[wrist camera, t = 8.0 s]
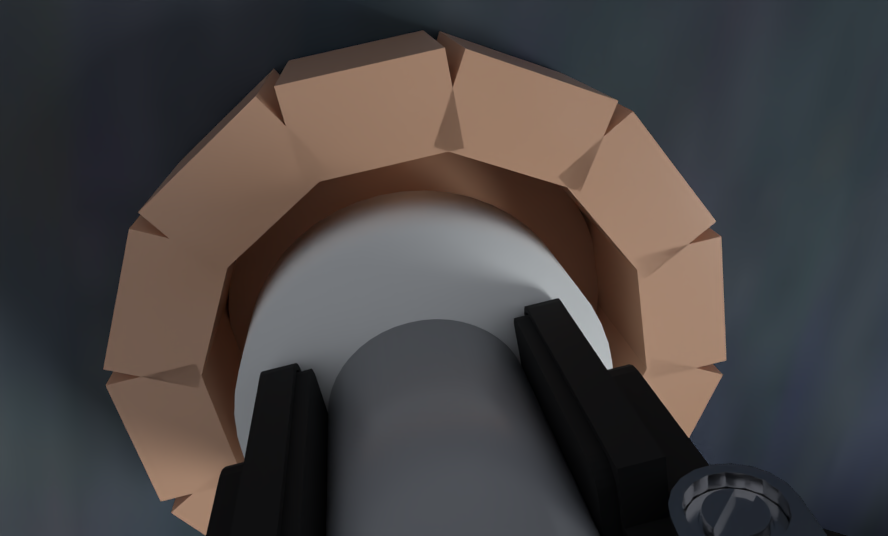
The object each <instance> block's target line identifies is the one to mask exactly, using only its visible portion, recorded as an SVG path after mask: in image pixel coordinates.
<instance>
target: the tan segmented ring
mask: <svg viewBox="0 0 888 536" xmlns="http://www.w3.org/2000/svg"><path fill="white" fill-rule="evenodd" d="M617 103H618V100H616V99H614V98H612V97H610V96H608V95H606V94H604V93H602V92H600V91H598V90H595V89H593V88H591V87H589V86H587V85H585V84H583V83H581V82H579V81H577V80H575V79H573V78H571V77H569V76H567V75H565V74H563V73H560V72H557V71H554V70H551V69H548V68H545V67H542V66H540V65H537V64H534V63H531V62H528V61H525V60H522V59H519V58H516V57H513V56H510V55H508V54H505V53H502V52H499V51H496V50H493V49H490V48H487V47H484V46H481V45H478V44H476V43H473V42H470V41H467V40H464V39H461V38H458V37H455V36H452V35H449V34H447V33H444V32H441V31H439V34H438V37H437V41H436V40H435V39H434V38H432V37H431V36H430V35H428V34H427V33H426V32H425V31H423V30H422V31H417V32H413V33H408V34H404V35H400V36H395V37H391V38H386V39H382V40H377V41H373V42H368V43H364V44H360V45H355V46H351V47H346V48H342V49H337V50H333V51H329V52H324V53H320V54H315V55H311V56H306V57H302V58H298V59H293V60H289V61H288V62H287V64H286V66H285V68H284V69H283V71H282V73H281V75H280V74H279V73H278V72H277V71H276V70H275V69H273V70H272V71H271V72H270V73H269V74H268V75H267V76H266V77H265V78H264V79H263V80H262V81H261V82H260V83H259V84H258V85H257V86H256V87H255V88H254V89H253V90H252V91H251V92H250V93H249V94H248V95H247V96H246V97H245V98H244V99H243V100H242V101H241V102H240V103H239V104H238V105H237V106H236V107H235V108H234V109H232V110H231V111H230V112H229V113H228V114H227V115H226V116H225V117H224V118H223V119H222V120H221V121H220V122H219V123H218V124H217V125H216V126H215V127H214V128H213V129H212V130H211V131H210V132H209V133H208V134H207V135H206V136H205V137H204V138H203V139H202V140H201V141H200V142H199V143H198V144H197V145H196V146H195V147H194V148H193V149H192V150H191V151H190V152H189V153H188V154H187V155H186V156H185V157H184V158H183V159H182V160H181V161H180V162H179V163H178V164H177V166H176V167H175V168H174V169H173V171H172V172H171V173H170V174H169V175H168V177H167V178H166V179H165V180H164V181H163V183H162V184H161V185H160V186H159V187H158V189H157V190H156V191H155V192H154V193H153V195H152V196H151V197H150V198H149V200H148V201H147V202H146V203H145V204H144V206H143V207H142V208H141V209H140V210H139V212H138V213H139V214H140V216H139V217H138V218H137V220H136V221H135V222H134V223H133V225H132V226H131V227H130V228H129V232H128V237H127V243H126V248H125V254H124V259H123V265H122V270H121V275H120V281H119V286H118V292H117V297H116V303H115V308H114V313H113V319H112V324H111V330H110V335H109V341H108V346H107V352H106V357H105V362H104V368H103V369H104V370H109V371H113V373H112V375H111V377H110V378H109V380H108V382H107V384H106V388H107V390H108V392H109V394H110V396H111V398H112V400H113V402H114V404H115V406H116V409H117V411H118V413H119V415H120V417H121V419H122V421H123V423H124V425H125V427H126V430H127V432H128V434H129V436H130V438H131V440H132V442H133V444H134V446H135V448H136V451H137V453H138V455H139V457H140V459H141V461H142V463H143V465H144V467H145V469H146V472H147V474H148V476H149V478H150V480H151V482H152V484H153V486H154V488H155V490H156V492H157V495H158V497H159V499H160V501H165V500H169V499H173V498H175V502H174V505H173V508H172V511H171V513H172V514H174V515H175V516H177V517H178V518H180V519H181V520H183V521H184V522H186V523H187V524H189V525H190V526H192V527H193V528H195V529H196V530H198V531H200V532H201V533H203V534H204V535H206V533H207V529H208V524H209V520H210V515H211V511H212V507H213V502H214V498H215V493H216V489H217V485H218V480H219V476H220V474H221V471H222V469H223V468H224V467H226V466H229V465H233V464H237V463H241V462H244V456H243V453H242V450H241V446H240V443H239V440H238V437H237V430H236V423H235V416H234V409H235V389H236V384H237V378H238V372H239V368H240V364H241V359H242V355H243V351H244V347H245V343H246V339H247V334H248V330H249V326H250V322H251V318H252V313H253V310H254V307H255V304H256V301H257V298H258V295H259V292H260V290H261V288H262V286H263V284H264V282H265V280H266V278H267V276H268V274H269V272H270V271H271V270H272V268H273V267H274V265H275V264H276V263H277V261H278V260H279V258H280V257H281V255H282V254H283V253H284V252H285V251H286V250H287V249H288V248H289V247H290V246H291V245H292V244H293V243H294V241H295V240H296V239H297V238H299V237H300V236H301V235H302V234H303V233H305V232H306V231H307V230H308V229H310V228H311V227H312V226H313V225H315V224H316V223H318V222H319V221H321V220H323V219H324V218H326V217H327V216H329V215H331V214H332V213H334V212H336V211H338V210H340V209H342V208H345V207H347V206H349V205H351V204H354V203H356V202H359V201H362V200H365V199H369V198H372V197H375V196H378V195H384V194H390V193H396V192H401V191H422V190H428V191H440V192H450V193H454V194H459V195H464V196H468V197H472V198H475V199H478V200H480V201H483V202H486V203H489V204H491V205H493V206H495V207H497V208H499V209H501V210H503V211H505V212H507V213H509V214H511V215H512V216H513V217H515V218H516V219H518V220H519V221H520V222H522V223H523V224H525V225H526V226H527V227H528V228H529V229H531V230H532V231H533V232H534V233H535V234H536V235H537V236H538V237H539V238H540V239H541V240H542V241H543V242H544V244H545V245H546V246H547V248H548V249H549V250H550V251H551V253H552V254H553V255H554V257H555V258H556V259H557V261H558V262H559V263H560V265H561V266H562V267H563V268H564V270H565V271H566V272H567V274H568V275H569V276H570V278H571V279H572V280H573V282H574V283H575V284H576V286H577V287H578V288H579V290H580V291H581V292H582V294H583V295H584V296H585V298H586V299H587V300H588V302H589V303H590V304H591V306H592V308H593V310H594V311H595V313H596V315H597V317H598V319H599V320H600V322H601V324H602V327H603V330H604V332H605V335H606V338H607V341H608V343H609V349H610V354H611V359H612V364H613V368H616V367H620V366H624V365H628V364H630V365H633V366H634V367H635V368H636V369H637V370H638V371H639V372H640V373H641V375H642V376H643V377H644V379H645V380H646V381H647V383H648V384H649V385H650V387H651V388H652V390H653V391H654V392H655V394H656V395H657V396H658V398H659V399H660V400H661V402H662V403H663V404H664V406H665V407H666V408H667V410H668V411H669V412H670V414H671V415H672V416H673V418H674V419H675V420H676V422H677V423H678V424H679V426H680V427H681V428H682V430H683V431H684V432H685V434H686V435H687V436H688V438H689V437H690V435H691V433H692V431H693V430H694V428H695V426H696V424H697V422H698V420H699V418H700V416H701V415H702V413H703V411H704V409H705V407H706V405H707V403H708V401H709V400H710V398H711V396H712V394H713V392H714V390H715V388H716V386H717V385H718V383H719V381H720V379H721V377H722V375H723V374H722V373H721V372H720V371H719V370H718V369H717V368H716V367H715V366H714V365H713V364H714V363H718V362H722V361H726V340H725V315H724V291H723V266H722V241H721V236H720V235H719V234H717V233H716V232H714V231H713V230H712V229H710V228H709V227H710V226H711V225H713V224H714V223H715V222H716V221H715V219H714V218H713V217H712V215H711V214H710V213H709V211H708V210H707V209H706V207H705V206H704V205H703V203H702V202H701V201H700V199H699V198H698V197H697V195H696V194H695V193H694V191H693V190H692V189H691V188H690V186H689V185H688V184H687V182H686V181H685V180H684V178H683V177H682V176H681V174H680V173H679V172H678V170H677V169H676V168H675V166H674V165H673V164H672V162H671V161H670V160H669V158H668V157H667V156H666V154H665V153H664V152H663V150H662V149H661V148H660V146H659V145H658V144H657V142H656V141H655V140H654V138H653V137H652V136H651V134H650V133H649V132H648V130H647V129H646V128H645V126H644V125H643V124H642V122H641V121H640V120H639V119H638V117H637V116H636V115H635V113H634V112H633V111H631V110H629V109H627V108H625V107H623V106H621V105H619V104H617ZM580 211H581V212H582V214H583V216H582V214H581V212H580ZM228 296H229V300H228Z"/></svg>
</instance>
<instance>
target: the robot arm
mask: <svg viewBox="0 0 888 536" xmlns="http://www.w3.org/2000/svg"><path fill="white" fill-rule="evenodd" d="M524 315H525V316H521V317H517V318H514V327H515V333H516V338H517V344H518V349H519V355H520V360H521V366H522V368H523V370H524V372H525V374H526V377H527V379H528V381H529V383H530V385H531V387H532V390H533V392H534V394H535V396H536V398H537V400H538V402H539V405H540V407H541V409H542V411H543V413H544V415H545V417H546V420H547V422H548V424H549V426H550V428H551V430H552V433H553V435H554V437H555V439H556V441H557V443H558V445H559V448H560V450H561V452H562V454H563V456H564V458H565V460H566V463H567V465H568V467H569V469H570V471H571V473H572V476H573V478H574V480H575V482H576V484H577V486H578V488H579V491H580V493H581V495H582V497H583V499H584V501H585V503H586V506H587V508H588V510H589V512H590V514H591V516H592V518H593V521H594V523H595V525H596V527H597V529H598V531H599V534H600V536H846V535H843V534H839V533H836V532H833V531H829V530H826V529H822V527H821V526H820V525H819V523H818V522H817V520H816V519H815V517H814V516H813V514H812V513H811V511H810V510H809V509H808V507H807V506H806V504H805V503H804V501H803V500H802V498H801V497H800V496H799V495H798V494H797V493H796V492H795V490H794V489H793V488H792V487H791V486H790V485H789V484H788V483H786V482H785V481H783V480H782V479H780V478H778V477H777V476H775V475H773V474H772V473H770V472H767V471H764V470H761V469H758V468H755V467H752V466H747V465H739V464H732V463H729V464H714V465H709V464H708V463H707V462H706V460H705V459H704V458H703V456H702V455H701V454H700V452H699V451H698V450H697V448H696V447H695V446H694V444H693V443H692V442H691V440H690V439H689V438H688V436H687V435H686V434H685V432H684V431H683V430H682V428H681V427H680V426H679V424H678V423H677V422H676V420H675V419H674V418H673V416H672V415H671V414H670V412H669V411H668V410H667V408H666V407H665V406H664V404H663V403H662V402H661V400H660V399H659V398H658V396H657V395H656V394H655V392H654V391H653V390H652V388H651V387H650V385H649V384H648V383H647V381H646V380H645V379H644V377H643V376H642V375H641V373H640V372H639V371H638V370H637V369H636V368H635V367H634V366H633V365H630V364H628V365H624V366H620V367H616V368H612V369H608V370H607V369H606V367H605V366H604V364H603V363H602V361H601V360H600V358H599V357H598V355H597V354H596V352H595V351H594V349H593V348H592V346H591V345H590V343H589V342H588V340H587V339H586V337H585V336H584V334H583V333H582V331H581V330H580V328H579V327H578V325H577V324H576V322H575V321H574V319H573V318H572V316H571V315H570V314H569V312H568V311H567V309H566V308H565V306H564V305H563V303H562V302H561V300H560V299H559V298H556V299H552V300H548V301H544V302H540V303H536V304H532V305H528V306H525V307H524ZM327 449H328V412H327V409H326V406H325V403H324V400H323V396H322V393H321V390H320V387H319V384H318V381H317V378H316V375H315V373H314V371H313V369H308V370H304V371H301V369H300V367H299V365H298V364H297V363H294V364H290V365H286V366H282V367H278V368H274V369H270V370H266V371H262V372H261V373H260V377H259V382H258V388H257V393H256V399H255V404H254V409H253V415H252V420H251V426H250V431H249V436H248V442H247V447H246V453H245V458H244V462H241V463H237V464H233V465H229V466H226V467H224V468H223V469H222V471H221V474H220V476H219V480H218V485H217V489H216V493H215V498H214V502H213V507H212V511H211V515H210V520H209V524H208V529H207V533H206V536H326V509H327Z"/></svg>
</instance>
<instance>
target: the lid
mask: <svg viewBox="0 0 888 536" xmlns="http://www.w3.org/2000/svg"><path fill="white" fill-rule="evenodd" d="M556 298H559V299H560V300H561V302H562V303H563V305H564V306H565V308H566V309H567V311H568V312H569V314H570V315H571V316H572V318H573V319H574V321H575V322H576V324H577V325H578V327H579V328H580V330H581V331H582V333H583V334H584V336H585V337H586V339H587V340H588V342H589V343H590V345H591V346H592V348H593V349H594V351H595V352H596V354H597V355H598V357H599V358H600V360H601V361H602V363H603V364H604V366H605V367H606V369H607V370H608V369H612V368H613V364H612V359H611V354H610V349H609V343H608V341H607V338H606V335H605V332H604V330H603V327H602V324H601V322H600V320H599V319H598V317H597V315H596V313H595V311H594V310H593V308H592V306H591V304H590V303H589V302H588V300H587V299H586V298H585V296H584V295H583V294H582V292H581V291H580V290H579V288H578V287H577V286H576V284H575V283H574V282H573V280H572V279H571V278H570V276H569V275H568V274H567V272H566V271H565V270H564V268H563V267H562V266H561V265H560V263H559V262H558V261H557V259H556V258H555V257H554V255H553V254H552V253H551V251H550V250H549V249H548V248H547V246H546V245H545V244H544V242H543V241H542V240H541V239H540V238H539V237H538V236H537V235H536V234H535V233H534V232H533V231H532V230H531V229H529V228H528V227H527V226H526V225H525V224H523V223H522V222H520V221H519V220H518V219H516V218H515V217H513V216H512V215H511V214H509V213H507V212H505V211H503V210H501V209H499V208H497V207H495V206H493V205H491V204H489V203H486V202H483V201H480V200H478V199H475V198H472V197H468V196H464V195H459V194H454V193H450V192H440V191H428V190H422V191H401V192H396V193H390V194H384V195H378V196H375V197H372V198H369V199H365V200H362V201H359V202H356V203H354V204H351V205H349V206H347V207H345V208H342V209H340V210H338V211H336V212H334V213H332V214H331V215H329V216H327V217H326V218H324V219H323V220H321V221H319V222H318V223H316V224H315V225H313V226H312V227H311V228H310V229H308V230H307V231H306V232H305V233H303V234H302V235H301V236H300V237H299V238H297V239H296V240H295V241H294V243H293V244H292V245H291V246H290V247H289V248H288V249H287V250H286V251H285V252H284V253H283V254H282V255H281V257H280V258H279V260H278V261H277V263H276V264H275V265H274V267H273V268H272V270H271V271H270V272H269V274H268V276H267V278H266V280H265V282H264V284H263V286H262V288H261V290H260V292H259V295H258V298H257V301H256V304H255V307H254V310H253V313H252V318H251V322H250V326H249V330H248V334H247V339H246V343H245V347H244V351H243V355H242V359H241V364H240V368H239V372H238V378H237V384H236V389H235V409H234V416H235V423H236V430H237V437H238V440H239V443H240V446H241V450H242V453H243V456H244V458H245V453H246V447H247V442H248V436H249V431H250V426H251V420H252V415H253V409H254V404H255V399H256V393H257V388H258V382H259V377H260V373H261V372H262V371H266V370H270V369H274V368H278V367H282V366H286V365H290V364H294V363H297V364H298V365H299V367H300V369H301V371H304V370H308V369H313V371H314V373H315V375H316V378H317V381H318V384H319V387H320V390H321V393H322V396H323V400H324V403H325V406H326V409H327V412H328V449H327V509H326V536H600V534H599V531H598V529H597V527H596V525H595V523H594V521H593V518H592V516H591V514H590V512H589V510H588V508H587V506H586V503H585V501H584V499H583V497H582V495H581V493H580V491H579V488H578V486H577V484H576V482H575V480H574V478H573V476H572V473H571V471H570V469H569V467H568V465H567V463H566V460H565V458H564V456H563V454H562V452H561V450H560V448H559V445H558V443H557V441H556V439H555V437H554V435H553V433H552V430H551V428H550V426H549V424H548V422H547V420H546V417H545V415H544V413H543V411H542V409H541V407H540V405H539V402H538V400H537V398H536V396H535V394H534V392H533V390H532V387H531V385H530V383H529V381H528V379H527V377H526V374H525V372H524V370H523V368H522V366H521V360H520V355H519V349H518V344H517V338H516V333H515V327H514V318H517V317H521V316H525V315H524V307H525V306H528V305H532V304H536V303H540V302H544V301H548V300H552V299H556Z"/></svg>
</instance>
